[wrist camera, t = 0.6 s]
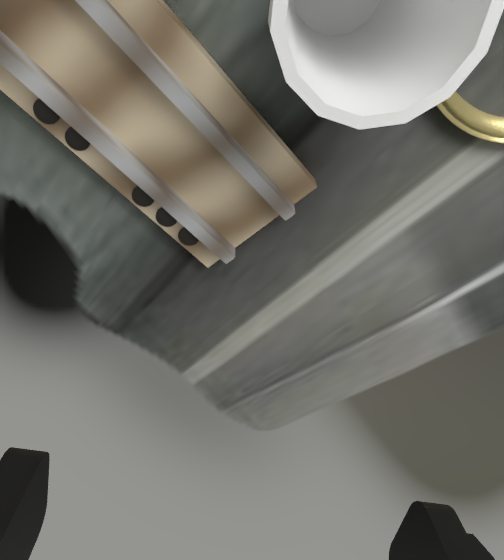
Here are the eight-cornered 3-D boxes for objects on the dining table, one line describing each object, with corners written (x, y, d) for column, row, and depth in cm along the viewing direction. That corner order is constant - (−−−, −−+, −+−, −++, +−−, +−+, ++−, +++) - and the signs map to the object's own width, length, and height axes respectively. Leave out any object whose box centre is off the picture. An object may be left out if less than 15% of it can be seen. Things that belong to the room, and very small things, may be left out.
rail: (-174, -77, 26) (-215, -77, 24) (-80, -286, 22) (-119, -311, 19) (209, 258, 42) (206, 278, 39) (314, 178, 37) (319, 196, 34)
